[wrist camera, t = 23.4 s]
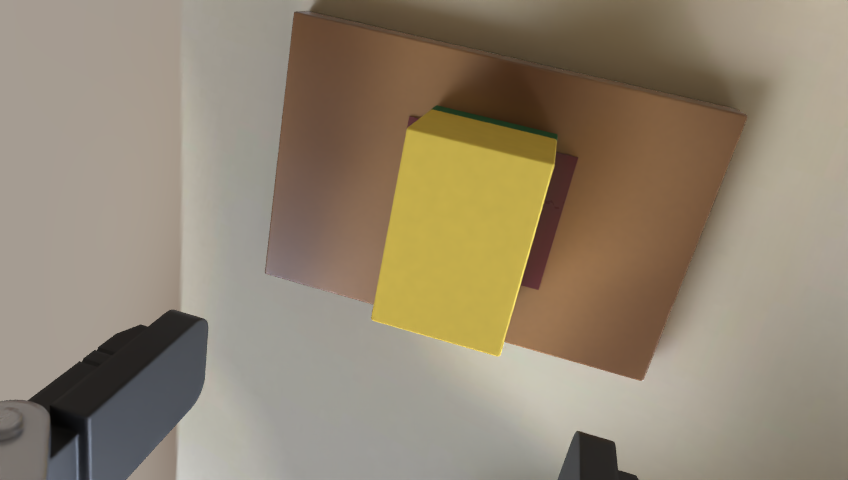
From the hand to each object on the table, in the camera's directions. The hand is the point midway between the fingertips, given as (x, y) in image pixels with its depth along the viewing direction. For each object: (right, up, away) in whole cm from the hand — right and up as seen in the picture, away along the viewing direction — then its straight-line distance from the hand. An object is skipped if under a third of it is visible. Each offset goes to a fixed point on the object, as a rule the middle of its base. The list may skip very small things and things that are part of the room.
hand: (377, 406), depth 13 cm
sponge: (+3, +5, +13) cm, 15 cm away
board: (+4, +5, +15) cm, 16 cm away
